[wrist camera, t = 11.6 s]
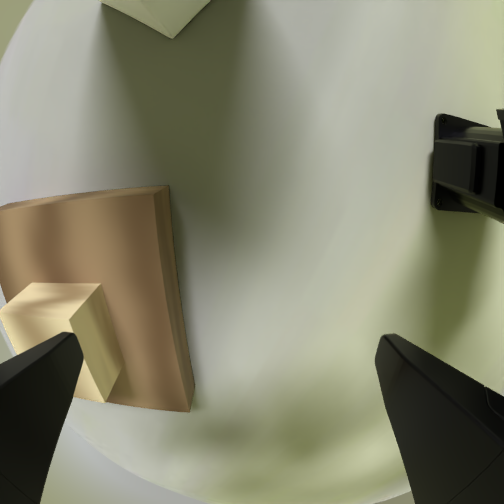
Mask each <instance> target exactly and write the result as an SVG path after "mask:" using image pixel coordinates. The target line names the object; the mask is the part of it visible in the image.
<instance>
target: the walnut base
mask: <svg viewBox="0 0 504 504" xmlns="http://www.w3.org/2000/svg"><path fill="white" fill-rule="evenodd" d="M31 283H94V284H101V286H102V290H103V294H104V297H105V301H106V305H107V308H108V312H109V315H110V318H111V322H112V325H113V328H114V331H115V334H116V337H117V340H118V343H119V346H120V349H121V352H122V355H123V358H124V361H125V362H124V364H123V366H122V369H121V371H120V373H119V375H118V377H117V379H116V381H115V383H114V385H113V387H112V390H111V392H110V394H109V396H108V398H107V400H106V402H109V403H115V404H121V405H127V406H134V407H141V408H148V409H157V410H166V411H177V412H190V409H191V403H192V398H193V393H194V388H195V383H194V378H193V373H192V368H191V362H190V357H189V351H188V345H187V339H186V333H185V327H184V320H183V313H182V307H181V300H180V292H179V285H178V277H177V269H176V260H175V251H174V241H173V231H172V220H171V208H170V195H169V185H166V186H151V187H138V188H126V189H115V190H105V191H95V192H86V193H77V194H69V195H62V196H54V197H47V198H40V199H34V200H27V201H21V202H15V203H9V204H6V205H4V206H1V207H0V284H1V288H2V291H3V294H4V297H5V299H6V302H7V303H8V302H9V301H11V300H12V299H13V298H14V297H15V296H16V295H18V294H19V293H20V292H21V291H22V290H24V289H25V288H26V287H27V286H28V285H30V284H31Z"/></svg>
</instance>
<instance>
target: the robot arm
mask: <svg viewBox="0 0 504 504" xmlns="http://www.w3.org/2000/svg"><path fill="white" fill-rule="evenodd" d="M496 111H497V116H498V119H499V120H500V123H501V128H491V127H488V126H485V125H482V124H479V123H476V122H472V121H469V120H466V119H462V118H459V117H455V116H452V115H448V114H438V115H437V116H436V119H435V143H434V165H433V187H432V197H431V205H432V207H433V208H435V209H437V210H445V211H459V212H472V213H481V214H483V215H486V216H488V217H490V218H492V219H494V220H497V221H499V222H501V223H503V224H504V109H496ZM442 118H443V120H444V124H443V123H442ZM438 200H439V204H438V205H437V201H438ZM83 361H84V354H83V351H82V349H81V346H80V343H79V341H78V338H77V336H76V334H75V333H73V332H61V333H59V334H57V335H55V336H53V337H51V338H50V339H48V340H46V341H44V342H42V343H40V344H38V345H36V346H34V347H32V348H30V349H28V350H26V351H24V352H22V353H20V354H19V355H17V356H15V357H13V358H11V359H9V360H7V361H5V362H3V363H2V364H0V504H40V501H41V497H42V493H43V489H44V485H45V482H46V478H47V474H48V471H49V467H50V464H51V461H52V457H53V454H54V451H55V448H56V444H57V442H58V439H59V436H60V433H61V430H62V427H63V424H64V421H65V419H66V416H67V413H68V410H69V408H70V405H71V402H72V399H73V396H74V392H75V389H76V385H77V382H78V378H79V375H80V371H81V368H82V365H83ZM375 366H376V370H377V374H378V378H379V382H380V387H381V391H382V395H383V400H384V404H385V407H386V411H387V414H388V417H389V420H390V423H391V425H392V428H393V431H394V434H395V438H396V441H397V444H398V447H399V450H400V453H401V456H402V460H403V463H404V466H405V469H406V473H407V476H408V480H409V483H410V487H411V490H412V494H413V498H414V501H415V504H504V396H502V395H500V394H498V393H496V392H495V391H493V390H491V389H490V388H488V387H484V385H483V384H481V383H479V382H478V381H476V380H474V379H472V378H471V377H469V376H467V375H466V374H464V373H462V372H460V371H459V370H457V369H455V368H454V367H452V366H450V365H448V364H447V363H445V362H443V361H442V360H440V359H438V358H436V357H435V356H433V355H431V354H430V353H428V352H426V351H424V350H423V349H421V348H419V347H418V346H416V345H414V344H412V343H411V342H409V341H407V340H406V339H404V338H402V337H400V336H399V335H397V334H394V333H393V334H384V335H382V336H381V338H380V341H379V345H378V348H377V352H376V355H375Z"/></svg>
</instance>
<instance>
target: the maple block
mask: <svg viewBox="0 0 504 504" xmlns="http://www.w3.org/2000/svg"><path fill="white" fill-rule="evenodd" d="M0 318H1V321H2V323H3V325H4V328H5V330H6V332H7V335H8V337H9V339H10V341H11V343H12V345H13V347H14V349H15V351H16V353H17V355H19V354H20V353H22V352H24V351H26V350H28V349H30V348H32V347H34V346H36V345H38V344H40V343H42V342H44V341H46V340H48V339H50V338H51V337H53V336H55V335H57V334H59V333H61V332H73V333H75V334H76V336H77V338H78V341H79V343H80V346H81V349H82V351H83V354H84V361H83V365H82V368H81V371H80V375H79V378H78V382H77V385H76V389H75V392H74V396H73V397H77V398H81V399H86V400H91V401H97V402H102V403H106V400H107V398H108V396H109V394H110V392H111V390H112V387H113V385H114V383H115V381H116V379H117V377H118V375H119V373H120V371H121V369H122V366H123V364H124V362H125V361H124V358H123V355H122V352H121V349H120V346H119V343H118V340H117V337H116V334H115V331H114V328H113V325H112V322H111V318H110V315H109V312H108V308H107V305H106V301H105V297H104V294H103V290H102V286H101V284H94V283H31V284H30V285H28V286H27V287H26V288H25V289H24V290H22V291H21V292H20V293H19V294H18V295H16V296H15V297H14V298H13V299H12V300H11V301H9V302H8V303H7V304H6V305H5V306H4V307H3V308H2V309H0Z"/></svg>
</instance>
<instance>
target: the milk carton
mask: <svg viewBox="0 0 504 504" xmlns="http://www.w3.org/2000/svg"><path fill="white" fill-rule="evenodd" d="M99 1H100V2H102V3H104V4H106V5H108V6H110V7H112V8H115V9H117V10H119V11H121V12H123V13H125V14H127V15H129V16H131V17H133V18H134V19H136V20H138V21H140V22H142V23H144V24H146V25H148V26H149V27H151V28H153V29H155V30H156V31H158V32H160V33H162V34H164V35H165V36H167V37H169V38H171V39H173V38H174V37H175V36H176V35H177V34H178V33H179V32H180V31H181V30H182V29H183V28H184V27H185V25H186V24H187V23H188V22H189V21H190V20H191V19H192V18H193V17H194V16H195V15H196V14H197V13H198V12H199V11H200V10H201V9H202V8H203V7H204V6H206V5H207V4H208V3H209V2H210V1H211V0H99Z"/></svg>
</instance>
